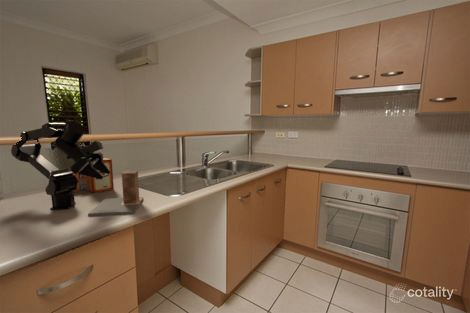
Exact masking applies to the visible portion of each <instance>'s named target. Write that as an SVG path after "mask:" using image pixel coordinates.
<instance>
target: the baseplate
mask: <svg viewBox="0 0 470 313" xmlns="http://www.w3.org/2000/svg"><path fill="white" fill-rule="evenodd" d="M143 200H144V197H140V196H139V200H138V202H137V203H130V204H124V202H123V197H120V198H119V197H118V198H117V197H116V198H104V199H103V200H102V201H100V203H99V204H97V205H96V206H95V207H94V208H93V209H91V210H90V211H89V212H88V214H87V216H88V217H94V216H95V217H96V216H98V217H99V216H116V215H117V216H118V215H132V214H133V215H134V214H135V213H136V211H137V210H138V208H139V206H140V205H141V204H142V202H143Z"/></svg>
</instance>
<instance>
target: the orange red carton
mask: <svg viewBox="0 0 470 313" xmlns="http://www.w3.org/2000/svg"><path fill="white" fill-rule="evenodd" d="M69 171H70V170H69ZM70 172H71V171H70ZM79 172H80V170H79ZM79 172H78V173H79ZM72 173H73V172H72ZM78 173H77V174H74V173H73V175H75V177H76V178H77V187H76V190H73V192H80V191H85V190H89V186H88V176H85V175H80V174H78Z"/></svg>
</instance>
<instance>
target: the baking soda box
mask: <svg viewBox="0 0 470 313" xmlns="http://www.w3.org/2000/svg"><path fill="white" fill-rule="evenodd" d="M103 162H104V164H105V165H106V167H107V168H108V170H109V171H110V173H109V174H106V173H104V172H101V171H99V170H97V171H98V172H99V173H100V174H101V175H102V176H103V178H102V179H97V178H93V177H89V176H88V186H89V189H88V191H89V192H90V193H92V194H97V193H102V192H107V191H108V192H109V191H112V190H114V189H115V188H114V176H113V175H114V173H113V160H112V159H110V158H108V157H103Z"/></svg>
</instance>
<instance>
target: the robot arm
mask: <svg viewBox="0 0 470 313" xmlns="http://www.w3.org/2000/svg"><path fill="white" fill-rule="evenodd" d="M86 132H87V130H86V127H85V125H84V126H83V125H82V124H81V123H79V122H77V121H75V120H74V119H69V120H68V121H67V122H46V123H44V124H42V125H41V127H40V128H35V129H32V130H28V131H27V130H26V131H22V132H21V133H20V136H19V137H22V138H21V139H22V140H21V141H19V142H17V143H18V144H17V143H16V145H13V144H12V146H11V150H10V153H11V156H13V157H14V158H15V159H16V160H18V161H20V162H24V163H28V164H30V165H31V166H32V167H34V168H35V169H36V170H37V171H38V172H40V174H42V176H45V177H46V178H47V179H48V184H47V186H46V187H45V193H46V195H48V196H51V205H52V207H50V208H49V209H50V210H51V211H52V210H68V209H70V208H71V207H73V206H75V205H76V204H77V202H76V200H75V194H74V191H73V190H76V187H77V178H76V177H75V175H73V173H74V174H77V173H78V172H79V170H80V172H79V173H78V174H80V175H85V176H89V177H93V178H97V179H102V178H103V176H102V175H101V174H100V173H99V172H98V171H97V170H99V171H101V172H104V173H106V174H109V173H110V171H109V170H108V168H107V167H106V165H105V164H104V162H103V158H104V154H103V153H101V152H100V151H99V150H103V149H104V146H103V143H102V142H100V141H98V140H94V141H91V143H90V144H88V145H86V146H85V145H80V144H78V143H79V141H80V140H81V138H82V137H84V135H85V133H86ZM38 139H39V140H38ZM42 139H55V140H54V141H52V142H50V150H52V151H53V150H56V149H57V150H59V151H60V152H62V153H63V154H64V155H65V156H66V157H65V158H66V159H67V160H72V161H73V162H74V163H73V164H71V166H70V167H69V169H68V168H63V169H59V168H58V167H56V166H55V165H54V164H53V163H51V162H50V161H49V160H48V159H46V158H45V157H44V156H43V155H41V150H42V144H41V143H40V140H42ZM35 140H37V142H39V143H38V144H35V143H31V144H27V142H31V141H35ZM35 142H36V141H35ZM70 171H71V172H70ZM72 172H73V173H72ZM72 191H73V192H72Z"/></svg>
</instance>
